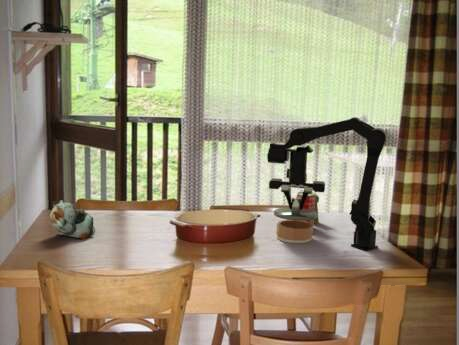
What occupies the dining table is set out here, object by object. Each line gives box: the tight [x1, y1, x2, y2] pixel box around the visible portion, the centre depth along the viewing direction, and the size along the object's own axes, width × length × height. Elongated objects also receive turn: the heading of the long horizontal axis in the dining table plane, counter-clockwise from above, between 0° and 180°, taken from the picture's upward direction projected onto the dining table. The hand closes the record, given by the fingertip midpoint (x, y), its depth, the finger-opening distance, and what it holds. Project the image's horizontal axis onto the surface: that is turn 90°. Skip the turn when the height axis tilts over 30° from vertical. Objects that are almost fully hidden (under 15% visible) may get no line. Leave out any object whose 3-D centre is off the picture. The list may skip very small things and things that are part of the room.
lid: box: [273, 196, 319, 221], centre depth 181 cm, size 15×15×6 cm
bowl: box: [275, 219, 314, 244], centre depth 183 cm, size 12×12×5 cm
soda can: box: [295, 191, 315, 227], centre depth 196 cm, size 7×7×13 cm
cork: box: [313, 193, 320, 225], centre depth 205 cm, size 6×6×11 cm
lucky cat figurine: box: [49, 199, 96, 240], centre depth 178 cm, size 15×12×14 cm
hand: (295, 209), depth 182 cm, fingers closed on lid, 3 cm apart
